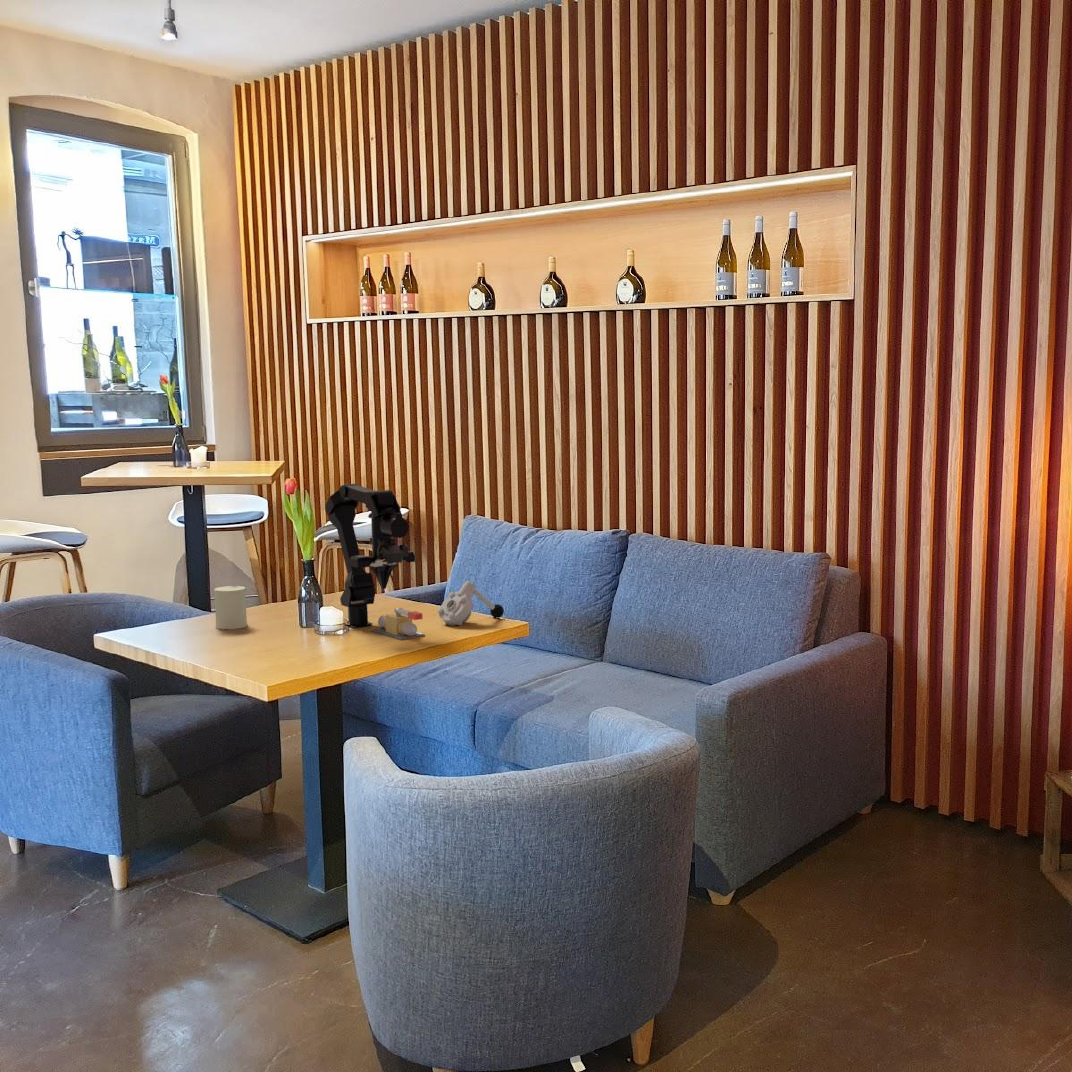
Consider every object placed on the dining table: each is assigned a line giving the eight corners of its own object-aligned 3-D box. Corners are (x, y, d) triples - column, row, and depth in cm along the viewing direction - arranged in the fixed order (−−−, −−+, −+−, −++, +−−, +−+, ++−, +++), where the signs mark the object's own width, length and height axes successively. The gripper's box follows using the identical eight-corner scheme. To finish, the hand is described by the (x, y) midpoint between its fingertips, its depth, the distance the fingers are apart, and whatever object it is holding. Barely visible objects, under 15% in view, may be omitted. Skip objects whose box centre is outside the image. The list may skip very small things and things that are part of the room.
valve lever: (392, 613, 323) (392, 607, 322) (400, 612, 324) (400, 606, 324) (414, 620, 312) (414, 614, 312) (422, 618, 314) (422, 613, 314)
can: (252, 623, 340) (250, 584, 339) (239, 630, 331) (237, 589, 330) (224, 623, 342) (222, 583, 340) (210, 629, 333) (208, 589, 331)
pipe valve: (370, 630, 328) (370, 610, 327) (394, 626, 333) (394, 606, 332) (400, 640, 315) (399, 619, 314) (424, 636, 320) (424, 615, 319)
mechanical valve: (431, 614, 337) (459, 573, 341) (468, 645, 347) (495, 605, 351) (449, 622, 329) (478, 580, 333) (487, 653, 339) (514, 612, 343)
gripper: (366, 540, 308) (368, 596, 310) (425, 534, 319) (426, 588, 321) (347, 536, 317) (349, 591, 319) (404, 531, 328) (406, 584, 330)
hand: (383, 588), depth 322 cm, fingers closed
